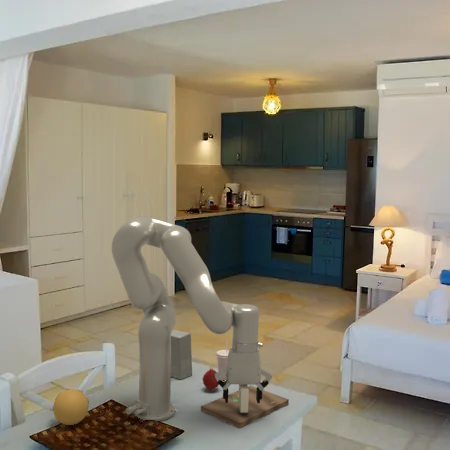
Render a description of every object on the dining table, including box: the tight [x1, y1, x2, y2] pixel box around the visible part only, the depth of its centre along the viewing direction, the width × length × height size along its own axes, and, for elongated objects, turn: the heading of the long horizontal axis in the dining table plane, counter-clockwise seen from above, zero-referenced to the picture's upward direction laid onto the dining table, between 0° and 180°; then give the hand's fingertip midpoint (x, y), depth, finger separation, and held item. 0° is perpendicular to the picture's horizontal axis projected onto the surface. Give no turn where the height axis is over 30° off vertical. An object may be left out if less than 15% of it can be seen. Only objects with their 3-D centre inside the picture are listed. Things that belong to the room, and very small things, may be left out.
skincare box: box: [171, 329, 193, 380], centre depth 198 cm, size 8×7×16 cm
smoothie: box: [215, 340, 230, 380], centre depth 196 cm, size 6×6×14 cm
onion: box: [202, 367, 220, 391], centre depth 186 cm, size 6×6×8 cm
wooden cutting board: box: [200, 385, 290, 429], centre depth 173 cm, size 24×16×2 cm, turn 138°
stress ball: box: [52, 388, 90, 426], centre depth 158 cm, size 10×10×10 cm
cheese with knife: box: [238, 384, 249, 414], centre depth 169 cm, size 14×3×8 cm, turn 5°
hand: (242, 401), depth 165 cm, fingers open, 9 cm apart
